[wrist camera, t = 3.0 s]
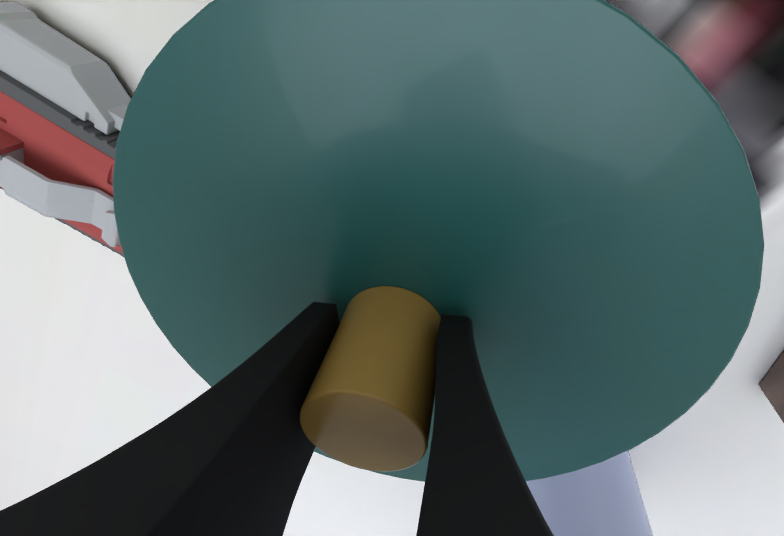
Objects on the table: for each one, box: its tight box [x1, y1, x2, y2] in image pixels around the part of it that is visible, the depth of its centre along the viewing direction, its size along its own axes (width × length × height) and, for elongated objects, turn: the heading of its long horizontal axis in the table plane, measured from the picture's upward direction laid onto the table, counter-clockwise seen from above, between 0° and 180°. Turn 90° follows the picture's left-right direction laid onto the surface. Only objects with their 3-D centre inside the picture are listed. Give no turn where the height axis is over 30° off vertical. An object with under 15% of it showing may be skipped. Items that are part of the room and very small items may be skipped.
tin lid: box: [113, 0, 764, 482], centre depth 10 cm, size 15×15×4 cm
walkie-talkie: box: [0, 2, 131, 257], centre depth 18 cm, size 9×4×20 cm
